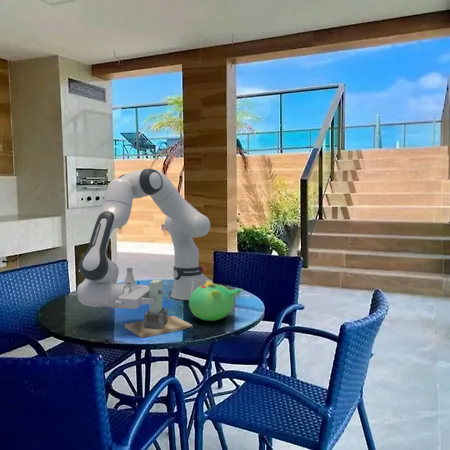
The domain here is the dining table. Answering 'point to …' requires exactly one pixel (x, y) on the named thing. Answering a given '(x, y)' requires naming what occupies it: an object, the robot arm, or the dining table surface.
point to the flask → (129, 276)
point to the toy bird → (212, 301)
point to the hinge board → (152, 332)
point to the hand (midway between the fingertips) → (158, 297)
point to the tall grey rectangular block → (155, 296)
